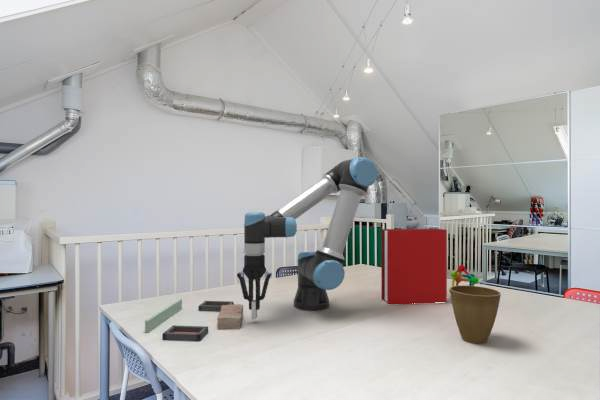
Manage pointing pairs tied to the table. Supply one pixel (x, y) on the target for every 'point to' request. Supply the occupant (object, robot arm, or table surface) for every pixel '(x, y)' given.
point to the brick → (230, 317)
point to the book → (414, 266)
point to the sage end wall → (162, 315)
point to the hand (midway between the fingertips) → (254, 318)
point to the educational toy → (458, 279)
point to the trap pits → (194, 331)
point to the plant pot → (475, 311)
